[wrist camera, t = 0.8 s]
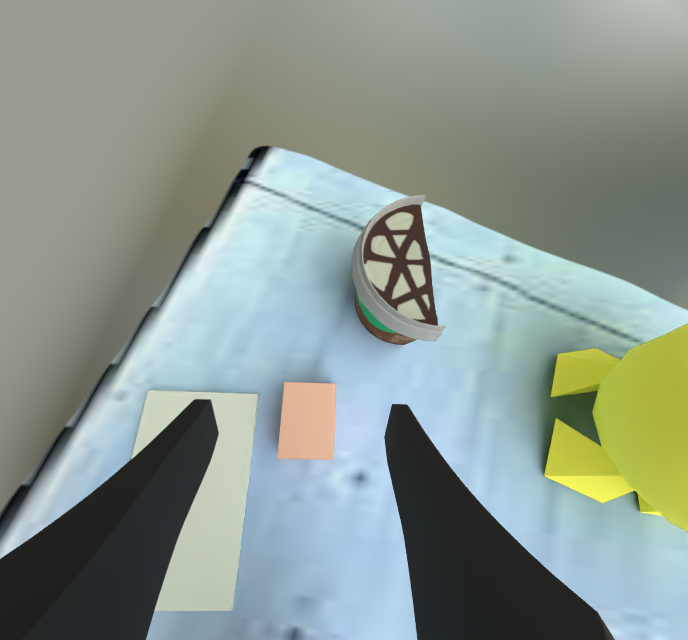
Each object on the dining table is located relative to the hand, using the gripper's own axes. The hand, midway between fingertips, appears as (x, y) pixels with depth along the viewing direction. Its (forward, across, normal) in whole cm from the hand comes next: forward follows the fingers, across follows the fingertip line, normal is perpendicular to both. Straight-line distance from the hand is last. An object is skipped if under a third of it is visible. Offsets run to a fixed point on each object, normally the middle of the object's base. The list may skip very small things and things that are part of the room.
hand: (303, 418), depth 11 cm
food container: (+19, -6, +4) cm, 20 cm away
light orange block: (+10, 0, +12) cm, 16 cm away
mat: (+6, +10, +16) cm, 20 cm away
